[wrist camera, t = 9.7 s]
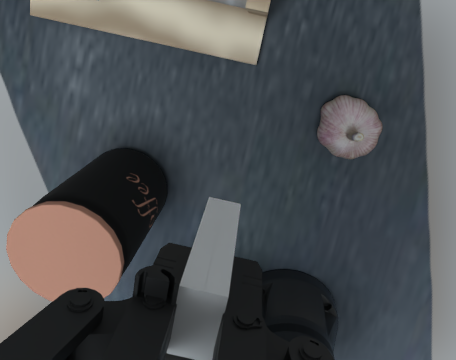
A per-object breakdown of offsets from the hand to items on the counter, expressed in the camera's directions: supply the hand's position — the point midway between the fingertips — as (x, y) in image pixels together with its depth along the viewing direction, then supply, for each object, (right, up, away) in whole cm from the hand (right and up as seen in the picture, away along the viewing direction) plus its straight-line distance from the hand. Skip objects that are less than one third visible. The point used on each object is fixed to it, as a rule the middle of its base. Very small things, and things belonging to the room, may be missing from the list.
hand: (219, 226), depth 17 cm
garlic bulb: (+15, +9, +27) cm, 32 cm away
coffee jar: (-13, +2, +32) cm, 35 cm away
